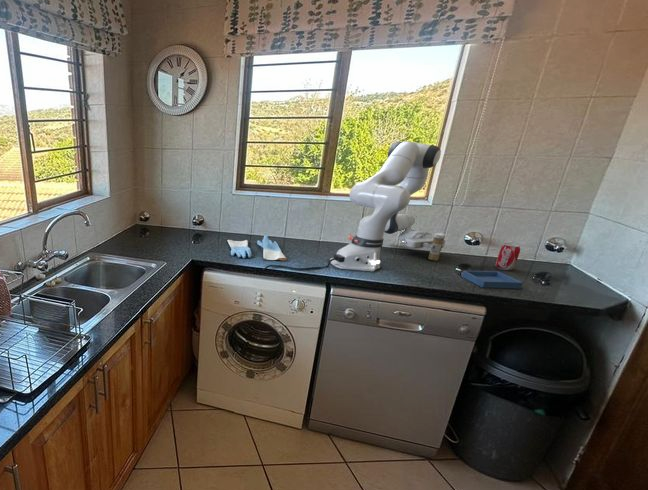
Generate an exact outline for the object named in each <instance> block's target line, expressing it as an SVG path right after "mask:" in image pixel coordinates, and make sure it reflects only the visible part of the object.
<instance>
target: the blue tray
mask: <svg viewBox="0 0 648 490" xmlns="http://www.w3.org/2000/svg"><path fill="white" fill-rule="evenodd" d="M460 276H461V277H462V278H463V279H465V280H467V281H469V282H470V283H472V284H475V285H477V286H478V287H481V288H482V289H485V288H486V289H517V290H519V289H521V288H522V285H523V281H520V280H518V279H516V278H514V277H511V276H510V275H507V274H506V273H503V272H501V271H499V270H497V271H496V270H462V272H461V275H460Z"/></svg>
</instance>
